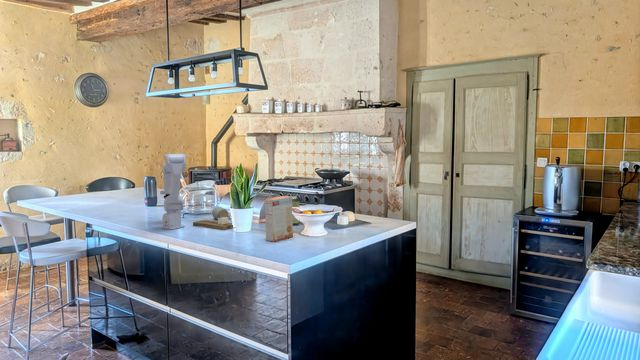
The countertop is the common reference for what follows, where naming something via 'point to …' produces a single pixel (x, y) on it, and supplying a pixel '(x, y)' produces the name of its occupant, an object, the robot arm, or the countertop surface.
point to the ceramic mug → (220, 212)
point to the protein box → (295, 204)
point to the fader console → (212, 224)
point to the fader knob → (223, 220)
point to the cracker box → (278, 218)
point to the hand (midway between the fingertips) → (170, 207)
